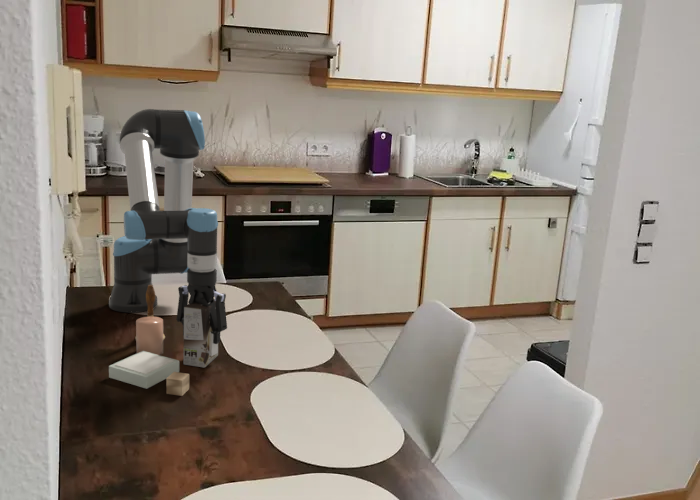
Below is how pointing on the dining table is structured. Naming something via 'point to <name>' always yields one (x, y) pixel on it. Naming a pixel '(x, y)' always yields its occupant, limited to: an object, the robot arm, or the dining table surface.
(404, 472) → the dining table surface
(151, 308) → the hand bell
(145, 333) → the peach upright cylinder
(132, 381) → the podium
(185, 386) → the beech block
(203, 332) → the coffee box
